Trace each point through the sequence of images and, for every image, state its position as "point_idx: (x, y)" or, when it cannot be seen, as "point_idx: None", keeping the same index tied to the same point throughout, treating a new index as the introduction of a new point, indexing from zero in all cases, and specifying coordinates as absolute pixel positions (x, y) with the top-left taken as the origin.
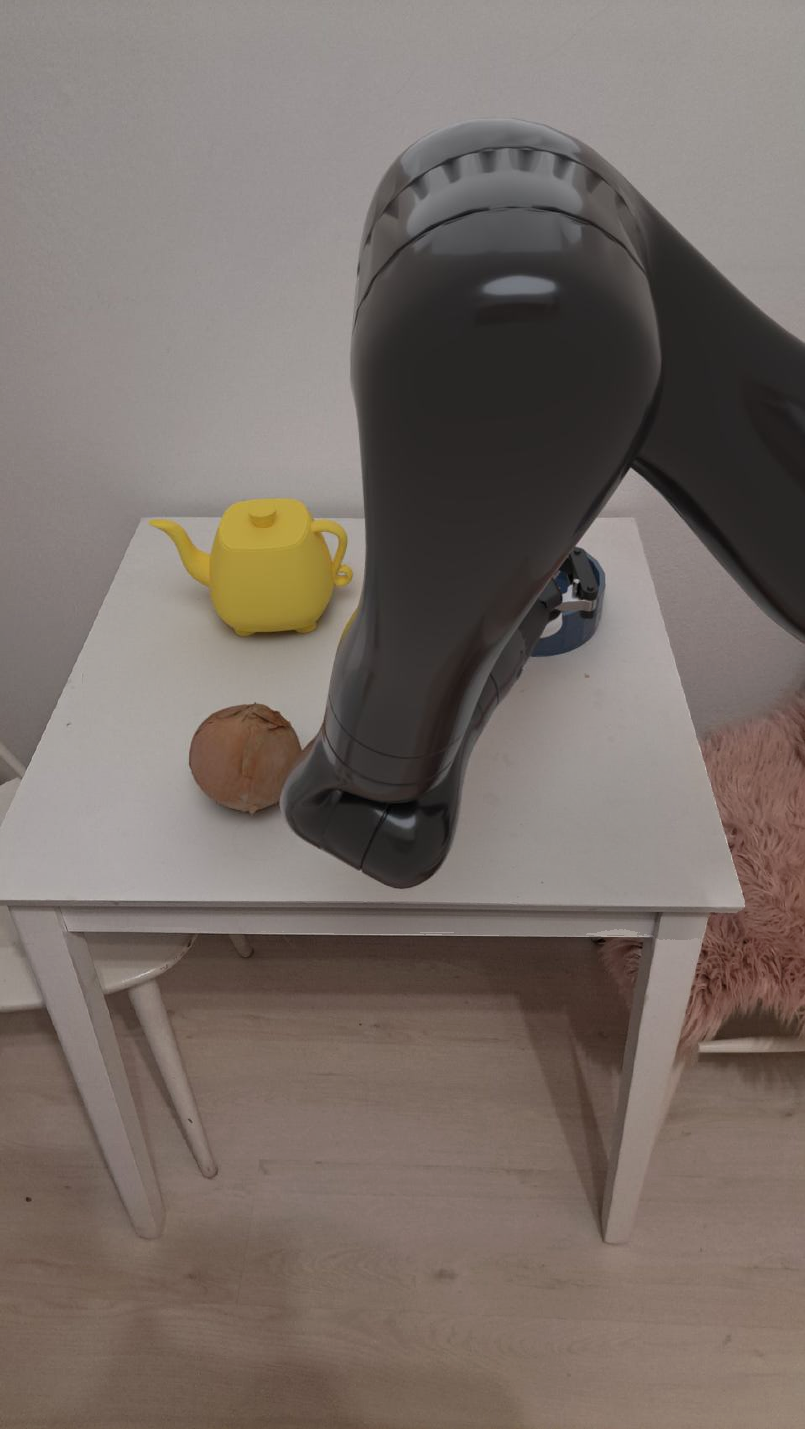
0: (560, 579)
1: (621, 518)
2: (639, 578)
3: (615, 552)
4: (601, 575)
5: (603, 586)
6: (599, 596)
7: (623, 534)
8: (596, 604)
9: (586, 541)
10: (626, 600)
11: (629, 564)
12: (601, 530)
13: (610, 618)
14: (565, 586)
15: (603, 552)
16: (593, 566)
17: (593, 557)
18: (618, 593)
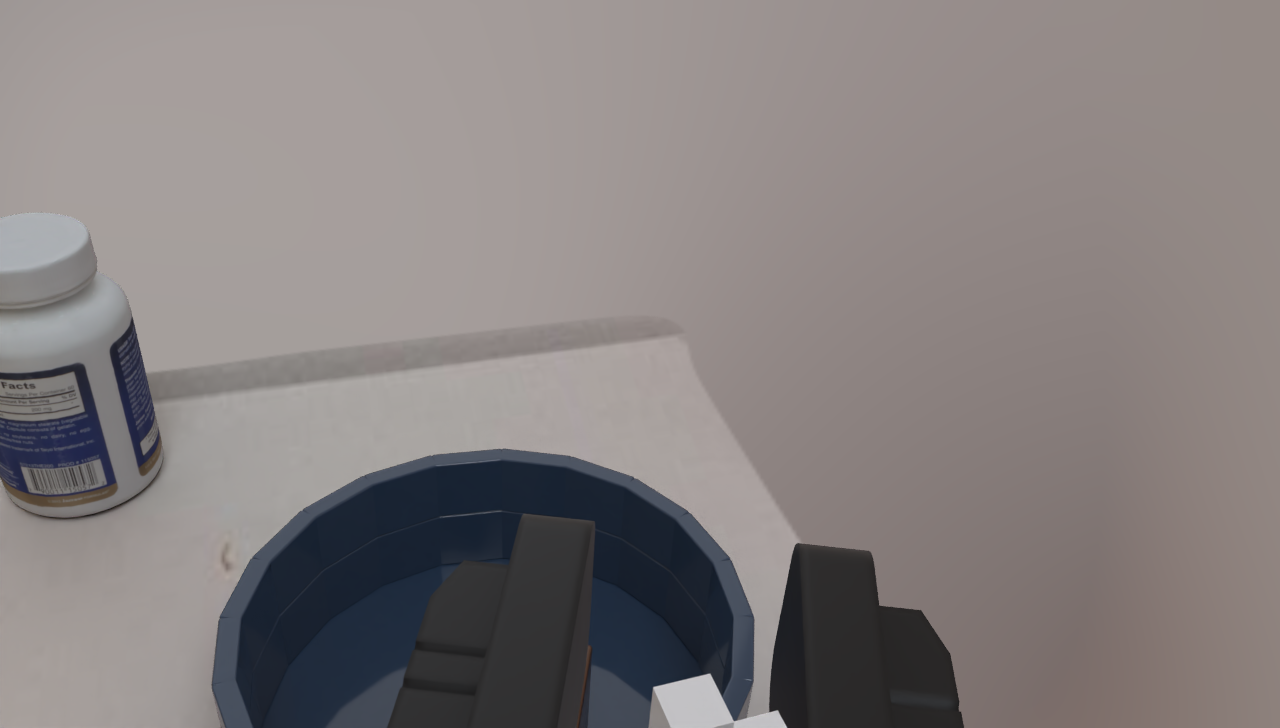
0: None
1: (667, 339)
2: (784, 518)
3: (687, 442)
4: (723, 572)
5: (748, 621)
6: (752, 673)
7: (688, 383)
8: (746, 706)
9: (598, 418)
10: (779, 608)
11: (739, 475)
12: (627, 379)
13: (759, 695)
14: None
15: (655, 447)
16: (680, 535)
17: (671, 501)
18: (746, 585)
